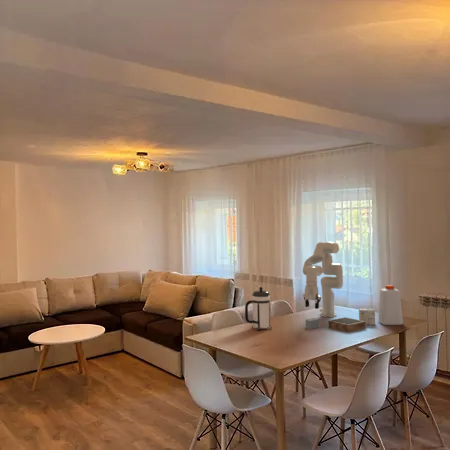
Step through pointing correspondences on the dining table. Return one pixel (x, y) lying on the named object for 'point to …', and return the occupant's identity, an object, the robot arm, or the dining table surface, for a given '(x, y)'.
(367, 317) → the light bulb box
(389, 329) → the dining table surface
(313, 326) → the block
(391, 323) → the plastic bottle
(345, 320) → the walnut stand
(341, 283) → the robot arm
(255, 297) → the coffee press
